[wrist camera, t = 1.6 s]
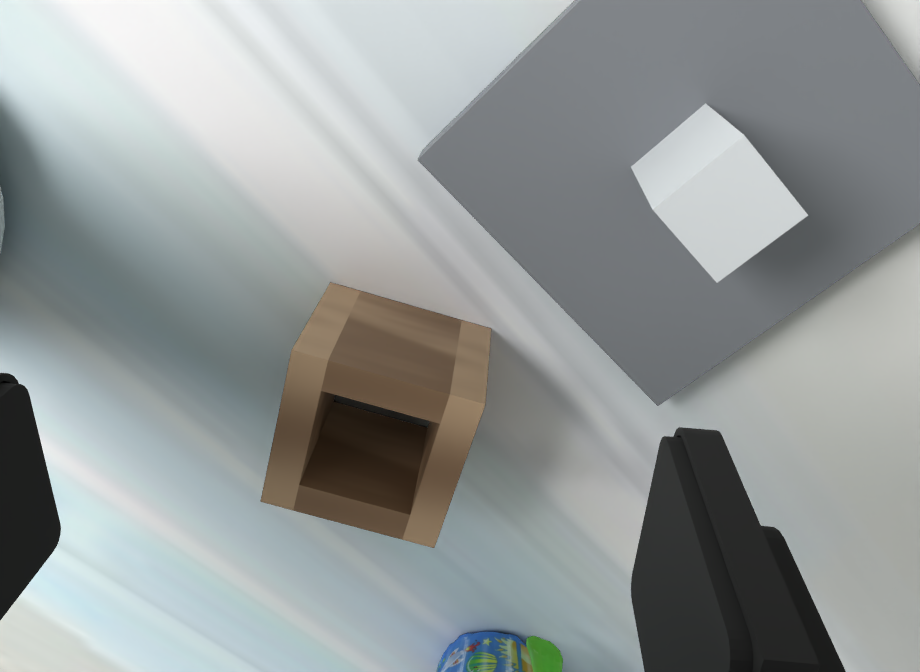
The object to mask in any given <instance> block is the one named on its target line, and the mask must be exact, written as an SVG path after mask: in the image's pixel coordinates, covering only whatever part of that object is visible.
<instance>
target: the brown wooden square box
mask: <svg viewBox="0 0 920 672" xmlns="http://www.w3.org/2000/svg"><path fill="white" fill-rule="evenodd" d="M490 339H491V328H487V327H484V326H480V325H477V324H473V323H470V322H466V321H463V320H459V319H456V318H453V317H449V316H446V315H442V314H439V313H435V312H432V311H428V310H425V309H421V308H418V307H414V306H411V305H407V304H404V303H400V302H397V301H394V300H390V299H387V298H383V297H380V296H376V295H373V294H369V293H366V292H362V291H359V290H355V289H352V288H348V287H345V286H341V285H338V284H335V283H331V282H330V284H329V286H328V287H327V289H326V291H325V293H324V294H323V296H322V298H321V300H320V301H319V303H318V305H317V307H316V308H315V310H314V312H313V313H312V315H311V317H310V319H309V320H308V322H307V324H306V326H305V327H304V329H303V331H302V333H301V334H300V336H299V338H298V340H297V341H296V343H295V345H294V347H293V348H292V350H291V355H290V360H289V365H288V370H287V375H286V380H285V385H284V389H283V394H282V399H281V404H280V409H279V414H278V419H277V424H276V428H275V433H274V438H273V443H272V448H271V453H270V458H269V463H268V467H267V472H266V477H265V482H264V487H263V492H262V497H261V502H264V503H268V504H271V505H275V506H279V507H283V508H286V509H290V510H294V511H297V512H301V513H305V514H309V515H312V516H316V517H320V518H324V519H327V520H331V521H335V522H339V523H342V524H346V525H350V526H354V527H357V528H361V529H365V530H368V531H372V532H376V533H380V534H383V535H387V536H391V537H395V538H398V539H402V540H406V541H410V542H413V543H417V544H421V545H425V546H428V547H432V548H434V547H435V544H436V542H437V539H438V536H439V533H440V530H441V528H442V525H443V522H444V519H445V516H446V514H447V511H448V508H449V505H450V502H451V500H452V497H453V494H454V491H455V488H456V486H457V483H458V480H459V477H460V474H461V472H462V469H463V466H464V463H465V460H466V458H467V455H468V452H469V449H470V446H471V444H472V441H473V438H474V435H475V432H476V430H477V427H478V424H479V421H480V418H481V416H482V413H483V410H484V407H485V404H486V391H487V378H488V365H489V352H490ZM335 395H338V396H342V397H345V398H349V399H352V400H356V401H360V402H363V403H367V404H370V405H374V406H378V407H381V408H385V409H388V410H392V411H395V412H399V413H403V414H406V415H410V416H413V417H417V418H421V419H424V420H428V421H429V424H428V427H423V426H420V425H416V424H413V423H409V422H405V421H402V420H398V419H395V418H391V417H387V416H384V415H380V414H377V413H373V412H369V411H366V410H362V409H359V408H355V407H351V406H348V405H344V404H341V403H337V402H334V398H335Z"/></svg>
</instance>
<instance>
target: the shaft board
mask: <svg viewBox="0 0 920 672" xmlns="http://www.w3.org/2000/svg"><path fill="white" fill-rule="evenodd" d="M418 161H419V162H420V163H421V164H422V165H423V166H424V167H425V168H426V169H427V170H428V171H429V172H430V173H431V174H432V175H433V176H434V177H435V178H436V179H437V180H438V181H439V182H440V183H441V184H442V185H443V186H444V187H445V189H446V190H447V191H448V192H449V193H450V194H451V195H452V196H453V197H454V198H455V199H456V200H457V201H458V202H459V203H460V204H461V205H462V206H463V207H464V208H465V209H466V210H467V211H468V212H469V213H470V214H471V215H472V216H473V217H474V218H475V219H476V220H477V221H478V222H479V223H480V224H481V225H482V226H483V227H484V228H485V230H486V231H487V232H488V233H489V234H490V235H491V236H492V237H493V238H494V239H495V240H496V241H497V242H498V243H499V244H500V245H501V246H502V247H503V248H504V249H505V250H506V251H507V252H508V253H509V254H510V255H511V256H512V257H513V258H514V259H515V260H516V261H517V262H518V263H519V264H520V265H521V266H522V267H523V268H524V269H525V271H526V272H527V273H528V274H529V275H530V276H531V277H532V278H533V279H534V280H535V281H536V282H537V283H538V284H539V285H540V286H541V287H542V288H543V289H544V290H545V291H546V292H547V293H548V294H549V295H550V296H551V297H552V298H553V299H554V300H555V301H556V302H557V303H558V304H559V305H560V306H561V307H562V308H563V309H564V311H565V312H566V313H567V314H568V315H569V316H570V317H571V318H572V319H573V320H574V321H575V322H576V323H577V324H578V325H579V326H580V327H581V328H582V329H583V330H584V331H585V332H586V333H587V334H588V335H589V336H590V337H591V338H592V339H593V340H594V341H595V342H596V343H597V344H598V345H599V346H600V347H601V348H602V349H603V350H604V352H605V353H606V354H607V355H608V356H609V357H610V358H611V359H612V360H613V361H614V362H615V363H616V364H617V365H618V366H619V367H620V368H621V369H622V370H623V371H624V372H625V373H626V374H627V375H628V376H629V377H630V378H631V379H632V380H633V381H634V382H635V383H636V384H637V385H638V386H639V387H640V388H641V389H642V390H643V391H644V393H645V394H646V395H647V396H648V397H649V398H650V399H651V400H652V401H653V402H654V403H655V404H656V405H657V406H659V405H660V404H661V403H663V402H664V401H666V400H667V399H669V398H670V397H672V396H673V395H674V394H676V393H677V392H679V391H680V390H682V389H683V388H685V387H686V386H687V385H689V384H690V383H692V382H693V381H695V380H696V379H697V378H699V377H700V376H702V375H703V374H705V373H706V372H708V371H709V370H710V369H712V368H713V367H715V366H716V365H718V364H719V363H720V362H722V361H723V360H725V359H726V358H728V357H729V356H731V355H732V354H733V353H735V352H736V351H738V350H739V349H741V348H742V347H743V346H745V345H746V344H748V343H749V342H751V341H752V340H754V339H755V338H756V337H758V336H759V335H761V334H762V333H764V332H765V331H766V330H768V329H769V328H771V327H772V326H774V325H775V324H777V323H778V322H779V321H781V320H782V319H784V318H785V317H787V316H788V315H789V314H791V313H792V312H794V311H795V310H797V309H798V308H800V307H801V306H802V305H804V304H805V303H807V302H808V301H810V300H811V299H812V298H814V297H815V296H817V295H818V294H820V293H821V292H823V291H824V290H825V289H827V288H828V287H830V286H831V285H833V284H834V283H835V282H837V281H838V280H840V279H841V278H843V277H844V276H846V275H847V274H848V273H850V272H851V271H853V270H854V269H856V268H857V267H859V266H860V265H861V264H863V263H864V262H866V261H867V260H869V259H870V258H871V257H873V256H874V255H876V254H877V253H879V252H880V251H882V250H883V249H884V248H886V247H887V246H889V245H890V244H892V243H893V242H894V241H896V240H897V239H899V238H900V237H902V236H903V235H905V234H906V233H907V232H909V231H910V230H912V229H913V228H915V227H916V226H917V225H919V224H920V84H919V83H918V82H917V80H916V79H915V77H914V76H913V74H912V73H911V71H910V70H909V69H908V67H907V66H906V64H905V63H904V61H903V60H902V58H901V57H900V56H899V54H898V53H897V51H896V50H895V48H894V47H893V45H892V44H891V43H890V41H889V40H888V38H887V37H886V35H885V34H884V32H883V31H882V30H881V28H880V27H879V25H878V24H877V22H876V21H875V19H874V18H873V17H872V15H871V14H870V12H869V11H868V9H867V8H866V6H865V5H864V4H863V2H862V1H861V0H575V1H574V2H573V3H572V4H571V5H570V6H569V7H568V8H567V9H566V10H565V11H564V12H563V13H562V14H560V15H559V16H558V17H557V18H556V19H555V20H554V21H553V22H552V23H551V24H550V25H549V26H548V27H547V28H546V29H545V30H544V31H543V32H542V33H541V34H540V35H539V36H538V37H537V38H536V39H535V40H534V41H533V42H532V43H531V44H530V45H529V46H528V47H527V48H526V49H525V50H524V51H523V52H522V53H521V54H520V55H519V56H518V57H517V58H516V59H515V60H514V61H513V62H512V63H511V64H510V65H509V66H508V67H507V68H506V69H505V70H503V71H502V72H501V73H500V74H499V75H498V76H497V77H496V78H495V79H494V80H493V81H492V82H491V83H490V84H489V85H488V86H487V87H486V88H485V89H484V90H483V91H482V92H481V93H480V94H479V95H478V96H477V97H476V98H475V99H474V100H473V101H472V102H471V103H470V104H469V105H468V106H467V107H466V108H465V109H464V110H463V111H462V112H461V113H460V114H459V115H458V116H457V117H456V118H455V119H454V120H453V121H452V122H451V123H450V124H449V125H447V126H446V127H445V128H444V129H443V130H442V131H441V132H440V133H439V134H438V135H437V136H436V137H435V138H434V139H433V140H432V141H431V142H430V143H429V144H428V145H427V146H426V147H425V148H424V149H423V150H422V152H421V154H420V156H419V158H418Z"/></svg>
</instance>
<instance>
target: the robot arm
mask: <svg viewBox="0 0 920 672" xmlns="http://www.w3.org/2000/svg"><path fill="white" fill-rule="evenodd" d="M4 229H5V221H4V202H3V195H2V191H1V187H0V253H1V247H2V241H3V235H4ZM60 531H61V526H60V521H59V516H58V512H57V508H56V504H55V500H54V496H53V492H52V487H51V483H50V479H49V475H48V471H47V467H46V462H45V458H44V454H43V450H42V446H41V442H40V438H39V433H38V429H37V425H36V421H35V417H34V413H33V408H32V404H31V400H30V396H29V393H28V390H27V389H26V387H25V386H23V385H21V384H19V383H18V381H17V379H16V378H15V377H14V376H13V375H10V374H8V373H0V620H1V619H2V618H3V616H4V615H5V614H6V612H7V611H8V610H9V608H10V607H11V606H12V605H13V603H14V602H15V601H16V599H17V598H18V597H19V595H20V594H21V593H22V592H23V590H24V589H25V588H26V586H27V585H28V584H29V582H30V581H31V580H32V578H33V577H34V576H35V575H36V573H37V572H38V571H39V569H40V568H41V567H42V565H43V564H44V563H45V562H46V560H47V559H48V558H49V556H50V555H51V554H52V552H53V551H54V549H55V548H56V546H57V544H58V541H59V538H60ZM631 597H632V604H633V609H634V615H635V620H636V626H637V631H638V637H639V642H640V648H641V653H642V659H643V664H644V670H645V672H845V669H844V667H843V665H842V663H841V661H840V659H839V656H838V654H837V652H836V650H835V648H834V645H833V643H832V641H831V639H830V637H829V635H828V632H827V630H826V628H825V626H824V624H823V622H822V619H821V617H820V615H819V613H818V611H817V609H816V606H815V604H814V602H813V600H812V598H811V596H810V593H809V591H808V589H807V587H806V585H805V582H804V580H803V578H802V576H801V574H800V572H799V569H798V567H797V565H796V563H795V561H794V559H793V556H792V554H791V552H790V550H789V548H788V546H787V543H786V541H785V539H784V537H783V536H782V534H781V533H780V531H779V530H777V529H776V528H774V527H767V526H761V525H760V523H759V521H758V519H757V516H756V514H755V512H754V509H753V507H752V505H751V502H750V500H749V498H748V495H747V493H746V491H745V488H744V486H743V484H742V481H741V479H740V477H739V474H738V472H737V470H736V467H735V465H734V463H733V460H732V458H731V456H730V453H729V451H728V449H727V446H726V444H725V442H724V439H723V437H722V435H721V433H720V432H719V431H717V430H705V429H692V428H680V427H679V428H678V429H677V430H676V432H675V434H674V437H667V436H664V437H662V439H661V442H660V446H659V450H658V455H657V460H656V464H655V469H654V474H653V479H652V483H651V488H650V493H649V497H648V502H647V507H646V512H645V516H644V521H643V526H642V530H641V535H640V540H639V545H638V549H637V554H636V559H635V564H634V568H633V573H632V581H631Z"/></svg>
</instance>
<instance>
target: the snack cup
mask: <svg viewBox="0 0 920 672" xmlns="http://www.w3.org/2000/svg"><path fill="white" fill-rule="evenodd" d="M562 664H563V658H562V656H561V653H560V650H559V649H558V648H557V647H556V646H555V645H554V644H552V643H551V642H550V641H547V640H544V639H541V638H539V637H536V636H531V637H528V638H527V640H526V644H525V643H523V642H522V641H521V640H520V639H519V638H518V637H517V636H516V635H512V634H502V633H498V632H478V633H473V634H470V633H466V634H463V635H460V636H459V638H458V639H457V640H456V641H455V642H454V643H452V644H450V645H449V647H448V648H447V650H446V651H445V652H444V654H443V656H442V658H441V660H440V662H439V664H438V668H437V672H562Z"/></svg>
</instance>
